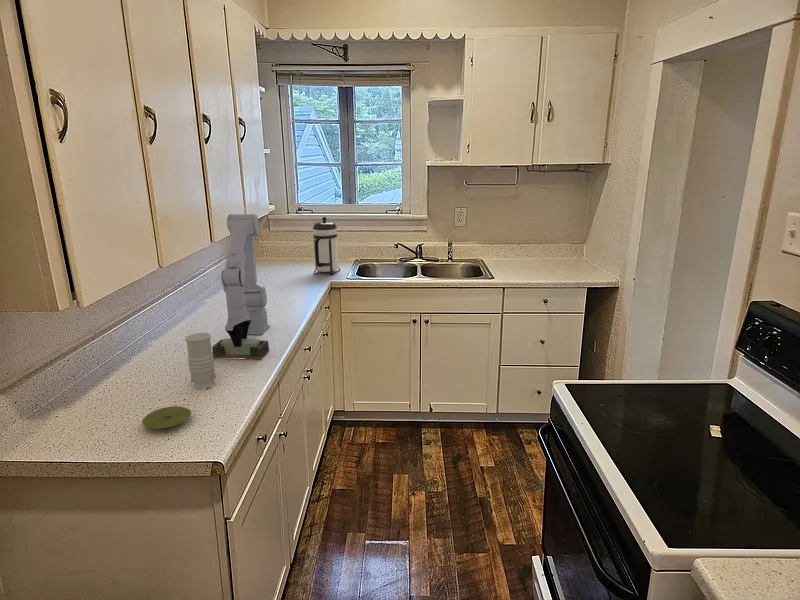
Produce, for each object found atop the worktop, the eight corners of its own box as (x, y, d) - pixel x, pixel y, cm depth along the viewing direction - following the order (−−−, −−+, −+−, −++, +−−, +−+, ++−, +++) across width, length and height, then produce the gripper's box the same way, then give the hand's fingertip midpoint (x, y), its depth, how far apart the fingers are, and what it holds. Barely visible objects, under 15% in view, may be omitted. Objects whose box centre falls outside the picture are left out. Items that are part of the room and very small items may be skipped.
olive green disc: (178, 408, 141) (177, 401, 140) (200, 422, 134) (199, 415, 133) (135, 425, 133) (134, 418, 132) (156, 440, 126) (155, 433, 125)
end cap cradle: (222, 350, 180) (221, 339, 179) (269, 351, 178) (268, 340, 177) (213, 358, 174) (211, 347, 172) (261, 359, 172) (260, 348, 171)
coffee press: (308, 271, 291) (304, 216, 282) (336, 268, 297) (333, 214, 289) (317, 278, 276) (313, 220, 267) (346, 274, 282) (343, 218, 274)
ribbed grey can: (210, 378, 159) (204, 330, 155) (220, 385, 154) (214, 337, 150) (188, 384, 155) (181, 336, 150) (197, 392, 150) (190, 343, 145)
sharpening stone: (226, 349, 178) (225, 338, 177) (260, 350, 177) (259, 339, 176) (221, 354, 174) (220, 342, 173) (256, 355, 173) (255, 343, 172)
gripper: (239, 311, 164) (243, 352, 168) (256, 298, 178) (260, 336, 181) (217, 311, 164) (222, 352, 168) (236, 298, 178) (240, 336, 182)
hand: (240, 344), depth 175 cm, fingers closed on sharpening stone, 4 cm apart
